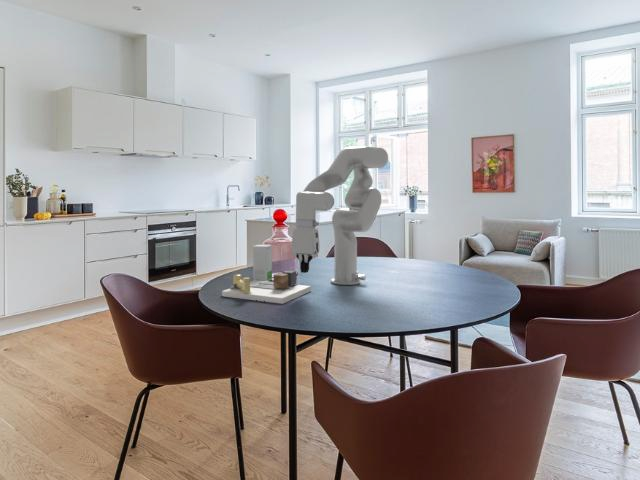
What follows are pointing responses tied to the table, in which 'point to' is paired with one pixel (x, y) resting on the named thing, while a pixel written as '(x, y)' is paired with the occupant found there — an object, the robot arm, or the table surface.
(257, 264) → the skincare box
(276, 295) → the panel
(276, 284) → the walnut slider
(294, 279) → the gray slider
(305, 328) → the table surface
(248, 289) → the brass lever
